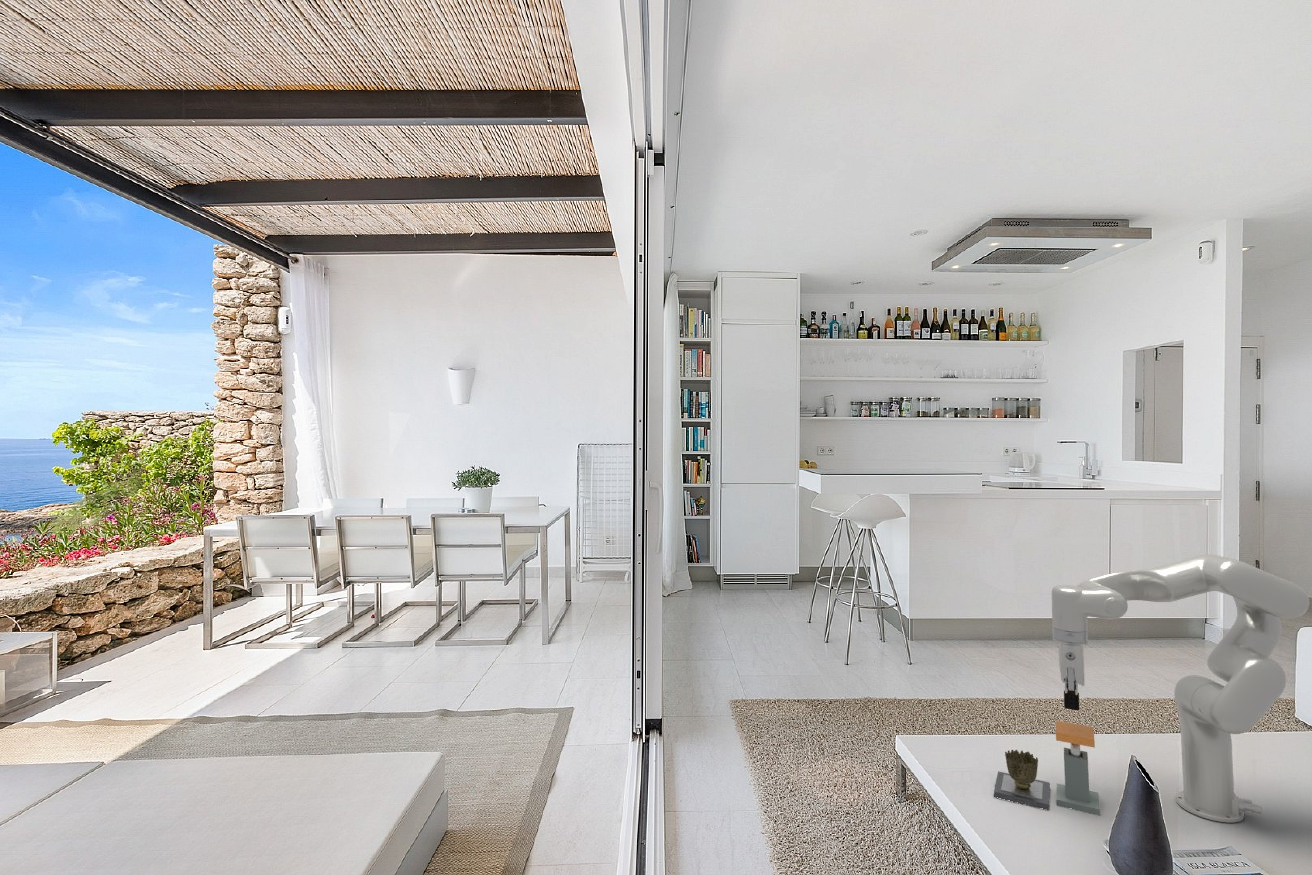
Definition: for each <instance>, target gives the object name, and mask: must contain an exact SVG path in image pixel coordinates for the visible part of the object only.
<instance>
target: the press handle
mask: <svg viewBox="0 0 1312 875" xmlns="http://www.w3.org/2000/svg"><path fill="white" fill-rule="evenodd" d="M1094 730H1095V729H1094V726H1090V725H1082V724H1078V723H1072V722H1066V721H1061V720H1055V740H1056V741H1057V742H1058V741H1059V742H1062V743H1068V744H1070V749H1071V755H1072V756H1077V757H1081V756H1080V751H1081V746H1085V747H1090V748H1093V749H1094V748H1096V745H1095V742H1096V741H1095V731H1094Z"/></svg>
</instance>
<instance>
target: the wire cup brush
mask: <svg viewBox="0 0 1312 875" xmlns="http://www.w3.org/2000/svg"><path fill="white" fill-rule="evenodd" d="M1004 753H1005V754H1004V755H1005V756H1004V757H1005V761H1006V762H1005V763H1006V768H1007V772H1008V774H1009V775H1010V776H1011V778H1012V779H1013V780H1015V781H1014V783H1015V785H1016V786H1017V787H1018V788H1020V789H1025V790H1026V789H1029V788H1030V787H1031V784H1030V783H1033V782H1034V781H1035V779H1036V778H1037V775H1038V768H1039V767H1038V766H1039V765H1038V764H1039V758H1038V757H1036V758H1035V757H1034V754H1033V753H1031V752H1030V751H1026V752H1024V750H1020V751H1018V749H1015V750H1014V749H1011V750H1010V749H1009V750H1007V751H1005V752H1004ZM1036 780H1037V779H1036Z"/></svg>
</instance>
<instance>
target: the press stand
mask: <svg viewBox="0 0 1312 875" xmlns="http://www.w3.org/2000/svg"><path fill="white" fill-rule="evenodd" d="M1080 756H1081V757H1077V756H1072V755H1071V748H1068V747H1063V763H1064V764H1063V765H1064V784H1061V783H1058V782H1057V783H1056V787H1055V788H1056V790H1055V791H1056V792H1055V795H1056V796H1055V804H1056V805H1057V806H1056V807H1061V808H1065V809H1069V808H1072V809H1071V810H1073V809H1075V810H1074V811H1078V810H1079V811H1078V812H1082V813H1086V812H1088V813H1087V814H1092V815H1095V816H1100V817H1101V806H1100V805H1101V804H1100V796H1099V795H1100V794H1099V791H1095V790H1090V780H1089V778H1090V777H1089V775H1090V774H1089V758H1088V757H1089V756H1088V751H1086V750H1084V751H1083V750H1080Z"/></svg>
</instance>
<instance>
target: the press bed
mask: <svg viewBox="0 0 1312 875" xmlns="http://www.w3.org/2000/svg"><path fill="white" fill-rule="evenodd" d="M1014 781H1015V780H1013V779H1012V778H1011V776H1010V775H1009V772H1008V773H1007V772H1002V771H998V772H997V775H996V779H995V784H994V790H993V798H994V797H998V798H1001V799H1000V800H1002V799H1005V800H1004V801H1007V800H1010V801H1009V802H1011V801H1013V802H1012V803H1015V802H1018V803H1017V804H1019V803H1020V804H1021V805H1023V804H1026V805H1025V806H1028V805H1029V806H1028V807H1032V806H1033V808H1037V809H1040V808H1043V809H1042V810H1044V809H1047V810H1046V811H1048V810H1049V811H1050V801H1049V800H1050V799H1051V783H1050V782H1049V781H1044V780H1039V779H1035V781H1034V782H1033V783H1030V784H1031V787H1030V788H1029V789H1026V790H1025V789H1020V788H1018V787H1017V786H1016V785H1015V783H1014ZM998 798H997V799H998Z"/></svg>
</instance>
